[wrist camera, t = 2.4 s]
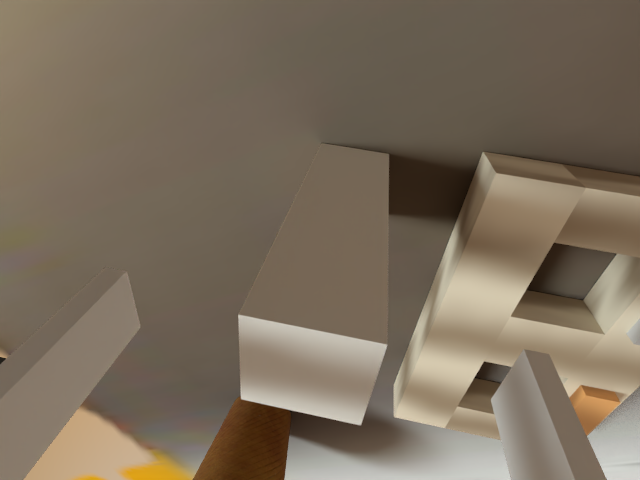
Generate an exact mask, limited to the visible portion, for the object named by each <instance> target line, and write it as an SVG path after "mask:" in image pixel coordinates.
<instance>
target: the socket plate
mask: <svg viewBox="0 0 640 480" xmlns="http://www.w3.org/2000/svg"><path fill="white" fill-rule="evenodd" d="M553 243H559V244H565V245H571V246H577V247H582V248H588V249H594V250H599V251H605V252H611V253H616V254H617V255H616V256H615V257H614V259H613V260H612V262H611V263H610V264H609V266H608V267H607V268H606V270H605V271H604V273H603V274H602V275H601V277H600V278H599V279H598V281H597V282H596V284H595V285H594V286H593V288H592V289H591V290H590V292H589V293H588V295H587V296H586V297H585V299H584V300H578V299H572V298H567V297H562V296H556V295H551V294H546V293H540V292H535V291H529V290H526V289H527V287H528V286H529V284H530V282H531V281H532V279H533V277H534V276H535V274H536V272H537V270H538V269H539V267H540V265H541V264H542V262H543V260H544V259H545V257H546V255H547V253H548V252H549V250H550V248H551V247H552V245H553ZM524 349H526V350H531V351H536V352H541V353H546V354H549V355H550V357H551V359H552V362H553V364H554V366H555V368H556V370H557V372H558V375H559V377H560V379H561V381H562V383H563V386H564V388H565V390H566V392H567V394H568V396H569V399H570V401H571V403H572V405H573V407H574V410H575V412H576V414H577V416H578V418H579V420H580V423H581V425H582V427H583V429H584V431H585V434H586V436H587V435H589V434H590V433H591V432H592V431H593V430H594V429H595V428H596V427H597V426H598V425H599V424H600V423H601V422H602V421H603V420H604V419H605V418H606V417H607V416H608V415H609V414H611V413H612V412H613V411H614V410H615V409H616V408H617V407H618V406H619V405H620V404H621V403H622V402H623V401H624V400H625V399H626V398H627V397H628V396H629V395H630V394H631V393H633V392H634V391H635V390H636V389H637V388H638V387H639V386H640V177H639V176H633V175H627V174H620V173H614V172H608V171H602V170H595V169H589V168H583V167H577V166H570V165H564V164H558V163H552V162H545V161H539V160H533V159H527V158H520V157H514V156H508V155H502V154H495V153H489V152H483V153H482V156H481V158H480V161H479V164H478V166H477V169H476V172H475V174H474V177H473V179H472V182H471V185H470V187H469V190H468V192H467V195H466V198H465V200H464V203H463V205H462V208H461V211H460V213H459V216H458V219H457V221H456V224H455V226H454V229H453V232H452V234H451V237H450V239H449V242H448V245H447V247H446V250H445V253H444V255H443V258H442V260H441V263H440V266H439V268H438V271H437V273H436V276H435V279H434V281H433V284H432V286H431V289H430V292H429V294H428V297H427V300H426V302H425V305H424V307H423V310H422V313H421V315H420V318H419V320H418V323H417V326H416V328H415V331H414V333H413V336H412V339H411V341H410V344H409V347H408V349H407V352H406V354H405V357H404V360H403V362H402V365H401V367H400V370H399V373H398V375H397V378H396V381H395V383H394V417H396V418H401V419H405V420H410V421H415V422H419V423H424V424H428V425H433V426H438V427H442V428H447V429H452V430H456V431H461V432H465V433H470V434H475V435H479V436H484V437H489V438H493V439H498V440H501V438H500V434H499V430H498V426H497V422H496V419H495V415H494V411H493V407H492V403H491V398H492V397H493V395H494V394H495V392H496V391H497V389H498V388H499V386H500V385H501V383H496V382H492V381H487V380H482V379H477V378H475V376H476V374H477V372H478V371H479V369H480V367H481V366H482V364H483V362H484V361H485V362H490V363H495V364H500V365H505V366H510V367H512V366H513V365H514V363H515V362H516V360H517V359H518V357H519V356H520V354H521V353H522V351H523V350H524Z"/></svg>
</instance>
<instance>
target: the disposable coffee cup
mask: <svg viewBox="0 0 640 480" xmlns="http://www.w3.org/2000/svg"><path fill="white" fill-rule="evenodd" d="M290 424H291V413H290V411H289V410H288V409H283V408H278V407H274V406H269V405H265V404H260V403H256V402H251V401H247V400H242V399H241V396H240V397H238V398H237V399H236V400H235V402H234V404H233V405H232V407H231V409H230V411H229V413H228V415H227V417H226V419H225V420H224V422H223V424H222V426H221V428H220V430H219V432H218V434H217V435H216V437H215V439H214V441H213V443H212V445H211V447H210V448H209V450H208V452H207V454H206V456H205V458H204V460H203V462H202V463H201V465H200V467H199V469H198V471H197V473H196V475H195V477H194V478H193V480H284V477H285V469H286V460H287V450H288V441H289V432H290Z"/></svg>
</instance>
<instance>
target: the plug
mask: <svg viewBox="0 0 640 480" xmlns="http://www.w3.org/2000/svg"><path fill="white" fill-rule="evenodd" d="M388 226H389V154H386V153H380V152H374V151H368V150H362V149H356V148H350V147H344V146H338V145H331V144H325V143H321V144H320V146H319V148H318V151H317V153H316V155H315V157H314V159H313V161H312V163H311V165H310V167H309V169H308V171H307V173H306V175H305V177H304V180H303V182H302V184H301V186H300V188H299V190H298V192H297V194H296V196H295V198H294V200H293V202H292V204H291V207H290V209H289V211H288V213H287V215H286V217H285V219H284V221H283V223H282V225H281V227H280V229H279V231H278V233H277V236H276V238H275V240H274V242H273V244H272V246H271V248H270V250H269V252H268V254H267V256H266V258H265V260H264V262H263V265H262V267H261V269H260V271H259V273H258V275H257V277H256V279H255V281H254V283H253V285H252V287H251V289H250V292H249V294H248V296H247V298H246V300H245V302H244V304H243V306H242V308H241V310H240V312H239V314H238V319H239V352H240V386H241V399H242V400H247V401H251V402H256V403H260V404H265V405H269V406H274V407H278V408H283V409H288V410H292V411H297V412H301V413H306V414H310V415H315V416H320V417H324V418H329V419H333V420H338V421H342V422H347V423H351V424H356V425H361V424H362V421H363V418H364V414H365V411H366V408H367V405H368V402H369V399H370V396H371V393H372V390H373V387H374V384H375V381H376V378H377V375H378V372H379V369H380V366H381V363H382V360H383V357H384V354H385V351H386V348H387V345H388Z"/></svg>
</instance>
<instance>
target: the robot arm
mask: <svg viewBox="0 0 640 480" xmlns="http://www.w3.org/2000/svg"><path fill="white" fill-rule="evenodd" d="M140 327H141V326H140V322H139V318H138V314H137V310H136V306H135V302H134V298H133V294H132V290H131V286H130V282H129V278H128V274H127V271H124V270H119V269H114V268H109V267H105V268H104V269H103V270H102V271H101V272H99V273H98V274H97V275H96V276H95V277H94V278H93V279H92V280H91V281H90V282H89V283H88V284H87V285H85V286H84V287H83V288H82V289H81V290H80V291H79V292H78V293H77V294H76V295H75V296H74V297H72V298H71V299H70V300H69V301H68V302H67V303H66V304H65V305H64V306H63V307H62V308H61V309H60V310H58V311H57V312H56V313H55V314H54V315H53V316H52V317H51V318H50V319H49V320H48V321H47V322H45V323H44V324H43V325H42V326H41V327H40V328H39V329H38V330H37V331H36V332H35V333H34V334H32V335H31V336H30V337H29V338H28V339H27V340H26V341H25V342H24V343H23V344H22V345H21V346H20V347H18V348H17V349H16V350H15V351H14V352H13V353H12V354H11V355H10V356H9V357H8V358H7V359H6V358H2V357H0V480H23V479H24V478H25V477H26V475H27V474H28V473H29V471H30V470H31V469H32V467H33V466H34V465H35V464H36V462H37V461H38V460H39V459H40V457H41V456H42V454H43V453H44V452H45V451H46V449H47V448H48V447H49V445H50V444H51V443H52V442H53V440H54V439H55V438H56V436H57V435H58V434H59V432H60V431H61V430H62V429H63V427H64V426H65V425H66V423H67V422H68V421H69V420H70V418H71V417H72V416H73V414H74V413H75V412H76V410H77V409H78V408H79V407H80V405H81V404H82V403H83V401H84V400H85V399H86V397H87V396H88V395H89V394H90V392H91V391H92V390H93V388H94V387H95V386H96V384H97V383H98V382H99V381H100V379H101V378H102V377H103V375H104V374H105V373H106V371H107V370H108V369H109V368H110V366H111V365H112V364H113V362H114V361H115V360H116V359H117V357H118V356H119V355H120V353H121V352H122V351H123V349H124V348H125V347H126V346H127V344H128V343H129V342H130V340H131V339H132V338H133V336H134V335H135V334H136V333H137V331H138V330H139V329H140ZM491 403H492V407H493V411H494V415H495V419H496V422H497V426H498V430H499V434H500V438H501V442H502V446H503V450H504V453H505V457H506V461H507V465H508V469H509V473H510V477H511V480H607V479H606V477H605V475H604V473H603V471H602V468H601V466H600V464H599V462H598V460H597V458H596V455H595V453H594V451H593V449H592V447H591V444H590V442H589V440H588V438H587V436H586V434H585V431H584V429H583V427H582V425H581V423H580V420H579V418H578V416H577V414H576V412H575V410H574V407H573V405H572V403H571V401H570V399H569V396H568V394H567V392H566V390H565V388H564V386H563V383H562V381H561V379H560V377H559V375H558V372H557V370H556V368H555V366H554V364H553V362H552V359H551V357H550V355H549V354H546V353H541V352H536V351H531V350H526V349H524V350H523V351H522V353H521V354H520V356H519V357H518V359H517V360H516V362H515V363H514V365H513V366H512V368H511V369H510V371H509V373H508V374H507V376H506V377H505V379H504V380H503V382H502V383H501V385H500V386H499V388H498V389H497V391H496V392H495V394H494V395H493V397H492V398H491Z"/></svg>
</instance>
